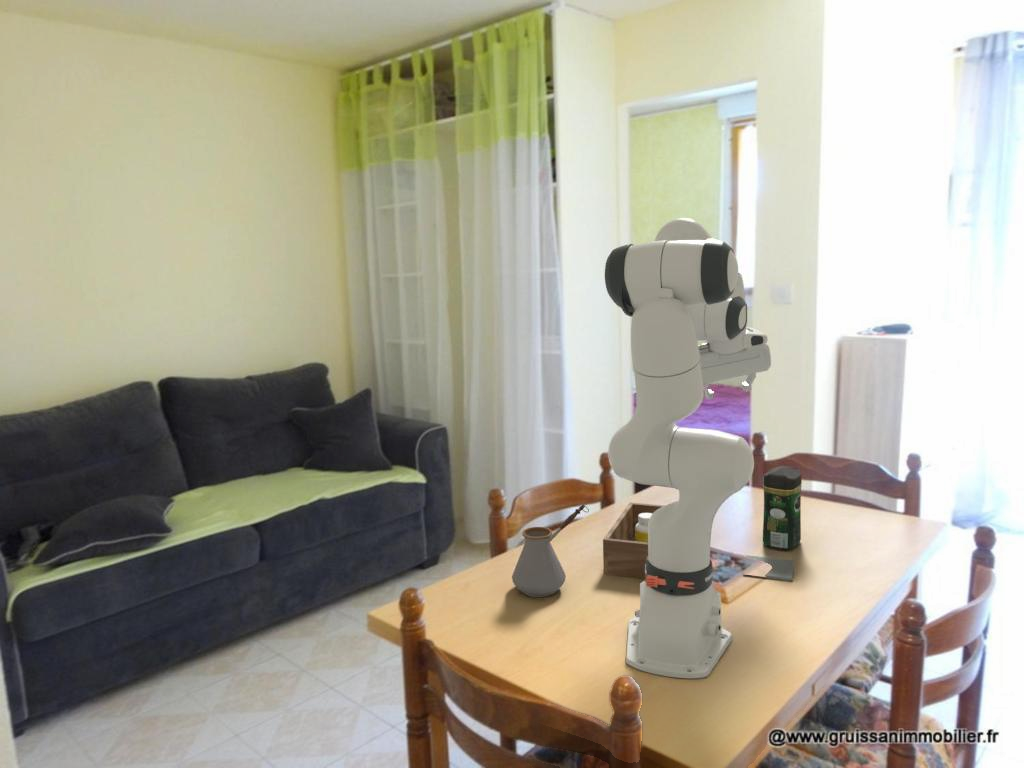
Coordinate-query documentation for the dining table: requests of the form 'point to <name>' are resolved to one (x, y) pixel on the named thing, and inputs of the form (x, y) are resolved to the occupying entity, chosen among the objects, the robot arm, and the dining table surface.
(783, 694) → the dining table surface
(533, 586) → the coffee pot
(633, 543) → the crate
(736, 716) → the dining table surface
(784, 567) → the coaster
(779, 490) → the coffee jar
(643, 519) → the supplement bottle
